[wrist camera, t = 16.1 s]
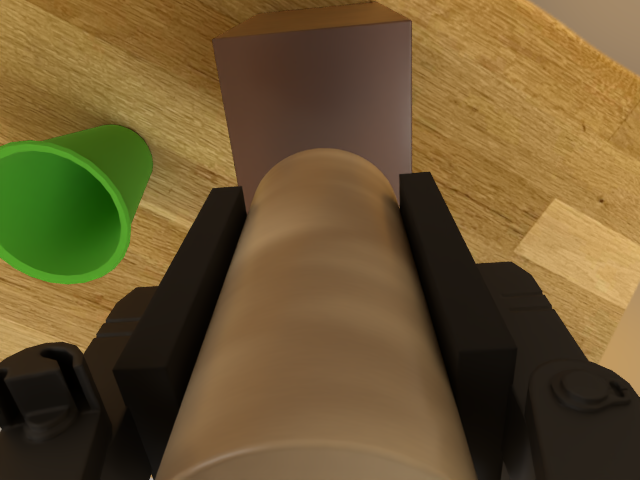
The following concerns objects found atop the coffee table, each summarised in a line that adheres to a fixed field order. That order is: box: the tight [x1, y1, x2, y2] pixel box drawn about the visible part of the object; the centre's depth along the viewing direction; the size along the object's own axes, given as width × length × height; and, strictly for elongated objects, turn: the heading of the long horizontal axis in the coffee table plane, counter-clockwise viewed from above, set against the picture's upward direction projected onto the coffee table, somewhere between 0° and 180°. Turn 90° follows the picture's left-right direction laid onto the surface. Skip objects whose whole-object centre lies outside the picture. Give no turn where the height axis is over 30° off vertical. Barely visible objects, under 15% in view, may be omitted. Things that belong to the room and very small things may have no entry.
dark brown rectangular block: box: [212, 2, 412, 215], centre depth 28 cm, size 8×8×15 cm
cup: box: [0, 125, 153, 284], centre depth 33 cm, size 9×9×11 cm
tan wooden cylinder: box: [155, 148, 478, 480], centre depth 10 cm, size 4×4×9 cm
